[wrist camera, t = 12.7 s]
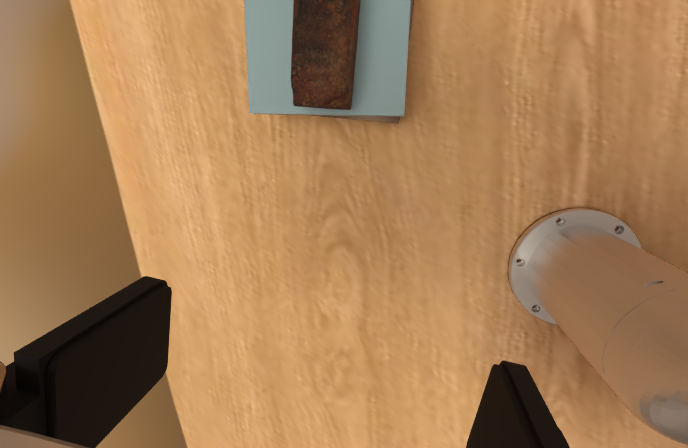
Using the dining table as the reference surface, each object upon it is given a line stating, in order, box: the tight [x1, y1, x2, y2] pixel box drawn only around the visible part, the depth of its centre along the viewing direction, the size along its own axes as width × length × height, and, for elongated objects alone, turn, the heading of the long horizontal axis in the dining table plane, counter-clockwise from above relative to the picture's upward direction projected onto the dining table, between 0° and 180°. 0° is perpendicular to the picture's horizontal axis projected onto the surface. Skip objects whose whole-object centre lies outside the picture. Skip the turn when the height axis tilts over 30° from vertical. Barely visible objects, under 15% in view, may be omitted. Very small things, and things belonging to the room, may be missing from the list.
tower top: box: [244, 0, 411, 117], centre depth 30 cm, size 12×12×5 cm
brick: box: [291, 0, 361, 110], centre depth 25 cm, size 11×4×5 cm, turn 175°
